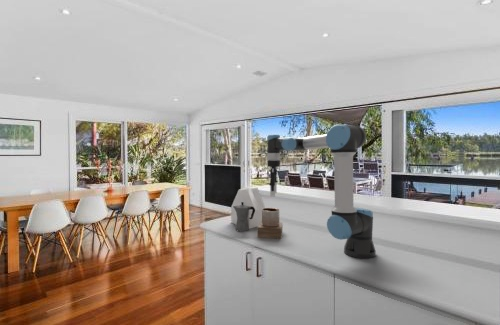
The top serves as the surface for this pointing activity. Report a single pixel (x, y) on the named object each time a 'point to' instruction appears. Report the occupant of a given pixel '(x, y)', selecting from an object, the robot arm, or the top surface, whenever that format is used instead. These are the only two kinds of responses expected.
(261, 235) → the plinth
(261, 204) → the white slotted block
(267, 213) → the planter
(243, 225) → the coffeepot
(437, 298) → the top surface
